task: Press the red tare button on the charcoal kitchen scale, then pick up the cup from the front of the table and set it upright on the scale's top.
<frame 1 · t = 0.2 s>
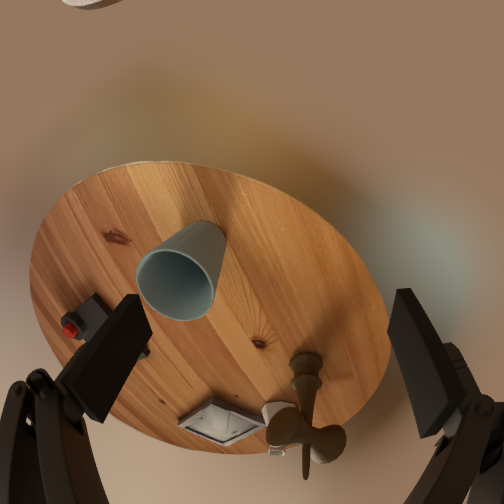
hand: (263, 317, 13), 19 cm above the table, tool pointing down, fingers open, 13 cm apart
flask: (280, 408, 47), on the table
cup: (204, 241, 33), on the table
scale: (106, 333, 43), on the table
picture frame: (220, 421, 52), on the table
tare button: (70, 330, 40), point 4 cm above the table, slide at 0.1 cm
kendama: (305, 360, 40), on the table
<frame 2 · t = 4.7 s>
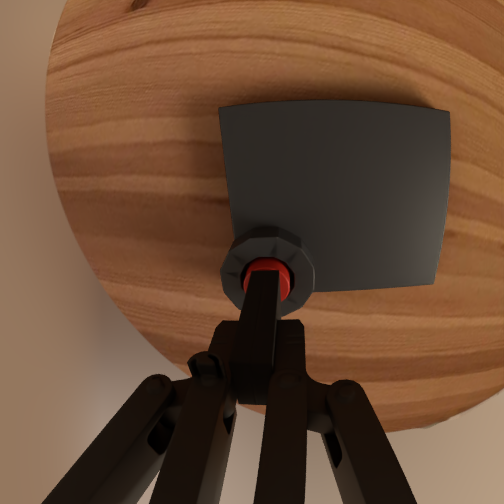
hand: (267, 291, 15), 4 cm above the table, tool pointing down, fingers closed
scale: (345, 197, 16), on the table
tare button: (267, 279, 16), point 3 cm above the table, slide at -0.5 cm, touching gripper
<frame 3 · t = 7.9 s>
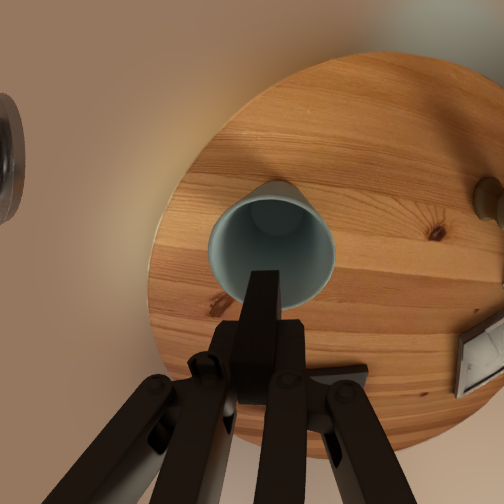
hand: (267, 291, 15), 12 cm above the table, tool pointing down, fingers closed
cup: (277, 208, 26), on the table
scale: (315, 393, 36), on the table
picture frame: (486, 351, 30), on the table
kendama: (484, 196, 22), on the table
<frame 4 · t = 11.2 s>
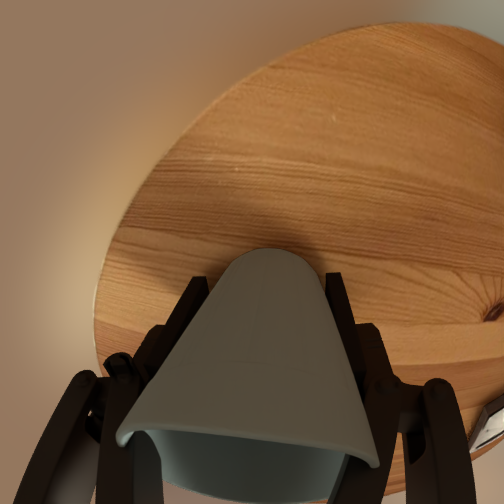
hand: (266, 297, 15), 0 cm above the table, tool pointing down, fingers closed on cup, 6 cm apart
cup: (270, 290, 15), on the table, touching gripper
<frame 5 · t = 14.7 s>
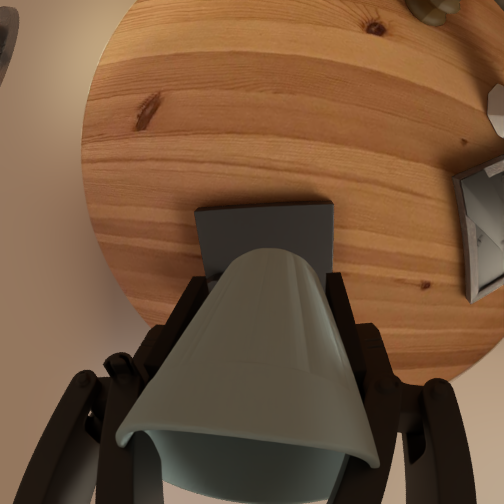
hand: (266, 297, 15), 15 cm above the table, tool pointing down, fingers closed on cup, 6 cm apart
flask: (502, 112, 18), on the table
cup: (270, 290, 15), point 14 cm above the table, touching gripper
scale: (267, 255, 30), on the table
picture frame: (496, 225, 25), on the table
kendama: (423, 9, 15), on the table
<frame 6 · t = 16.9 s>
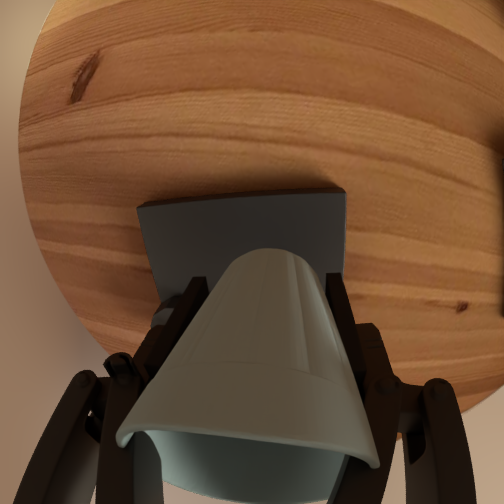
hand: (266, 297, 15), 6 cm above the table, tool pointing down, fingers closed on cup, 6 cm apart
cup: (270, 290, 15), point 5 cm above the table, touching gripper
scale: (246, 271, 21), on the table
when the fingers open (2 cm above the table, at t = 18.4 s): cup stays where it is, resting on scale.
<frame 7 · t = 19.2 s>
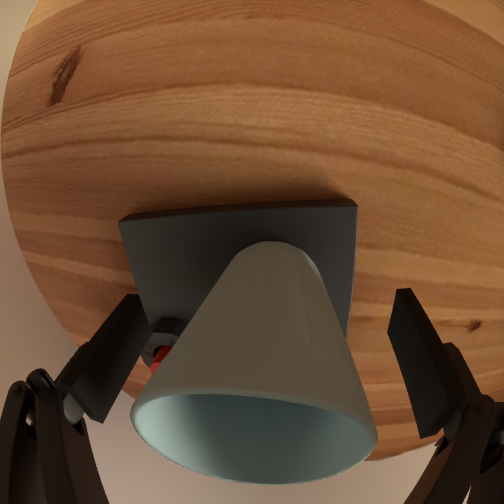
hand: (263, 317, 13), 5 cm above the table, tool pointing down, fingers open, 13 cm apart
cup: (272, 282, 16), point 1 cm above the table, touching scale
scale: (242, 292, 18), on the table
tare button: (171, 366, 17), point 4 cm above the table, slide at 0.1 cm
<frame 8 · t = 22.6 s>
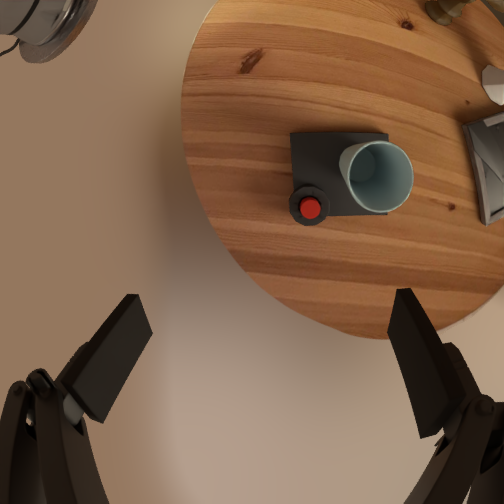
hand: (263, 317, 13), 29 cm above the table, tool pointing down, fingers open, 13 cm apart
flask: (493, 85, 25), on the table
cup: (357, 164, 35), point 1 cm above the table, touching scale
scale: (341, 173, 37), on the table
picture frame: (496, 165, 31), on the table
tare button: (309, 207, 36), point 4 cm above the table, slide at 0.1 cm
kendama: (436, 14, 22), on the table
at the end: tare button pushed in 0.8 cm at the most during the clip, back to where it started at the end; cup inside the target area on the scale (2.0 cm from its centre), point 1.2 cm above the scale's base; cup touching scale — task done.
